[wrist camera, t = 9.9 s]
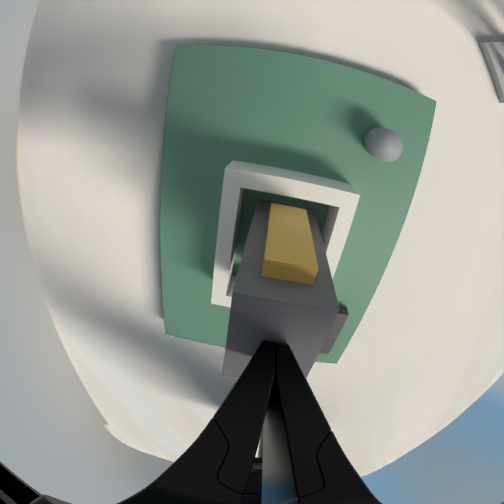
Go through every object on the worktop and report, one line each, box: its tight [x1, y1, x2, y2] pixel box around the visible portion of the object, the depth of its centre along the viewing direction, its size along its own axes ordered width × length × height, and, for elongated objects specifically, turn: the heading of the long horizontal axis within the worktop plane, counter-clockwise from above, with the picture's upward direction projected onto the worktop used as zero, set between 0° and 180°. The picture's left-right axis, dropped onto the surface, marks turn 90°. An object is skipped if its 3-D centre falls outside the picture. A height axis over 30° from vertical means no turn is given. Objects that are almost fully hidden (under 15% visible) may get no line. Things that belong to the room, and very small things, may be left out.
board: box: [160, 45, 436, 364], centre depth 15 cm, size 20×14×3 cm
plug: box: [222, 199, 339, 378], centre depth 12 cm, size 6×3×8 cm, turn 172°
